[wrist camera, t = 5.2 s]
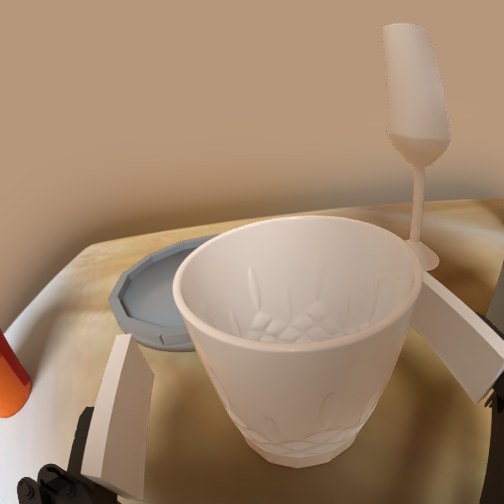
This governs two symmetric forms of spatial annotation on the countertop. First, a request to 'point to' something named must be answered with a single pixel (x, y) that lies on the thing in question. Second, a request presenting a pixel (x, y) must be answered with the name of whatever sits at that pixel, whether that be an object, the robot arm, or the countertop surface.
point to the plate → (154, 299)
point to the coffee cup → (11, 381)
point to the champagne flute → (415, 114)
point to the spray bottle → (497, 304)
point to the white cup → (299, 327)
